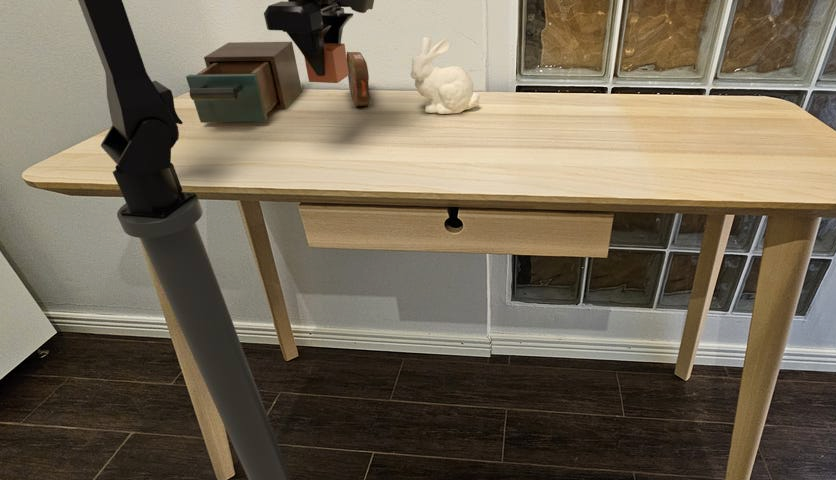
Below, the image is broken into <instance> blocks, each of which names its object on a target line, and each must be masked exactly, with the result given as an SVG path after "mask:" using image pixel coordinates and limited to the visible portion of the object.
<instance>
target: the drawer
mask: <svg viewBox="0 0 836 480" xmlns="http://www.w3.org/2000/svg"><path fill="white" fill-rule="evenodd" d="M185 78H186V81H187V84H188V87H189V97H190V99H191V100H192V101H193V104H194V107H195V110H196V112H197V115H198V119H199V122H200V123H262V122H263V123H265V122H267V121H268V120H269V117H268V114H269V113H270V111H272V110H271V109H272V108H273V107H274V106H275V105H276V104H277V103H278V102H279V97H278V93H277V88H276V84H275V80H274V75H273V71H272V67H271V62H270V61H232V62H214V63H213V64H211V65H210V66H208V67H205V68H203V69H201V71H199V72H197V73H196V74H188V75H186V76H185Z"/></svg>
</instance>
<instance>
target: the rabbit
mask: <svg viewBox="0 0 836 480" xmlns="http://www.w3.org/2000/svg"><path fill="white" fill-rule="evenodd" d="M451 44H452V42H451V39H450V38H448V37H444V38H443V39H442V40H441V41H440V42H438V43H437V44H435V45H434V46H433V47H432V48H431V49H430V47H431V45H432V39H431V37H429V36H425V37H424V38H422V41H421V46H420V47H421V48H420V54H419V55H416V56H413V57H412V58H411V69H410V76H411V78H412V79H414V86H415V88H416V91H417V92H418V93H419V95H420V96H422V97H423V98H424V99H426V100H430V101H427V102H426V103H425V105H424V108H425V109H424V111H425V113H427V114H434V113H436V114H439V115H449V114H460V113H462V112H463V111H466V110H470V109H472V108H474V107H475V106H477V105H478V103H479V102H480V94H479V93H478V92H474V82H473V79H472V77H471V76H470V74H469V73H468V71H466V70H465V69H464V68H462V67H460V66H456V65H453V66H451V65H450V66H447V67H443V68H440V67H438V66H434V65H433V62H432V61H433V60H435V59H436V58H438V57H439V56H441V55H443V54H444V53H446V52H447V51H449V50H450V48H451V46H452V45H451Z"/></svg>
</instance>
